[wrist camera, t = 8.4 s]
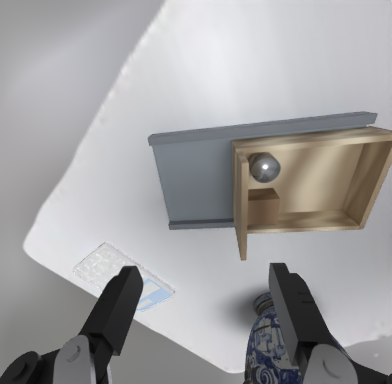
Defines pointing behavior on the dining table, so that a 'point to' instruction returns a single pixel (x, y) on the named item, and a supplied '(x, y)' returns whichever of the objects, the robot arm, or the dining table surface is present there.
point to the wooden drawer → (314, 179)
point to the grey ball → (264, 166)
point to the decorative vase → (270, 349)
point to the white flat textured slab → (111, 265)
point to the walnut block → (263, 206)
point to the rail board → (220, 165)
